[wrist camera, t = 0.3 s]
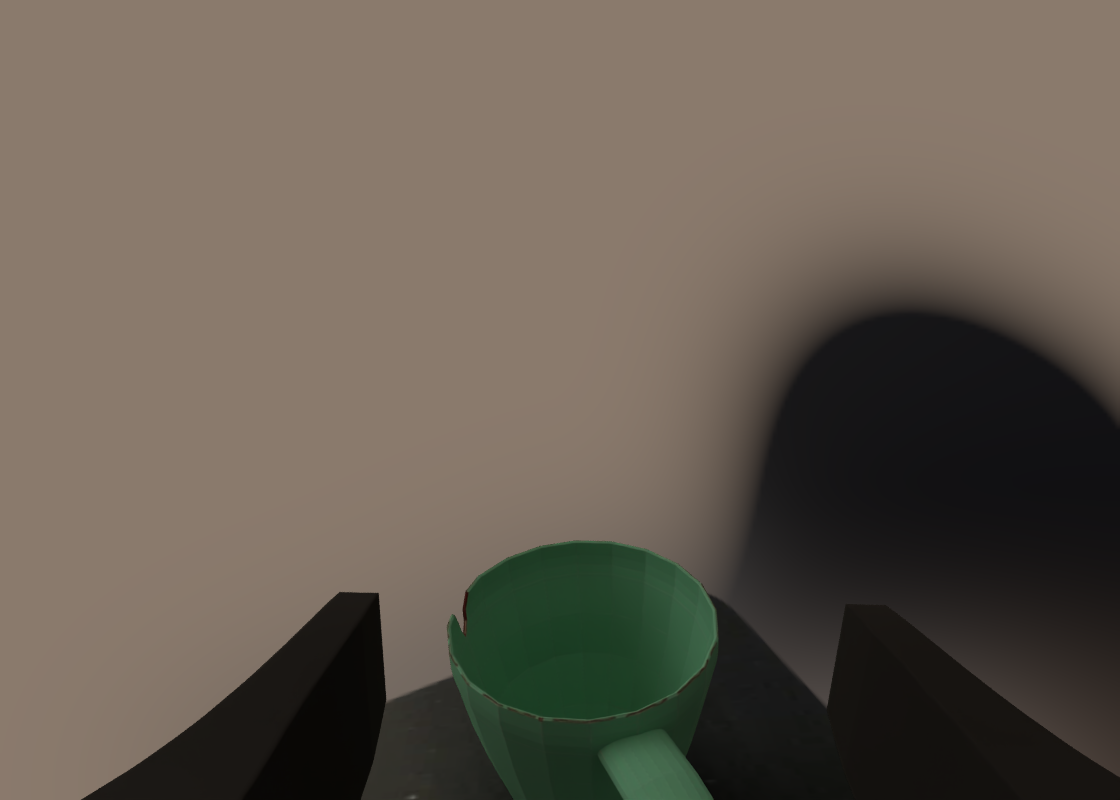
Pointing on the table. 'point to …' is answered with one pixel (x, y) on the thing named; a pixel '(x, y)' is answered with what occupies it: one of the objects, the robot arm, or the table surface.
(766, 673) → the table surface
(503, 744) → the mug
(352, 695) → the robot arm
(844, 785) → the table surface
